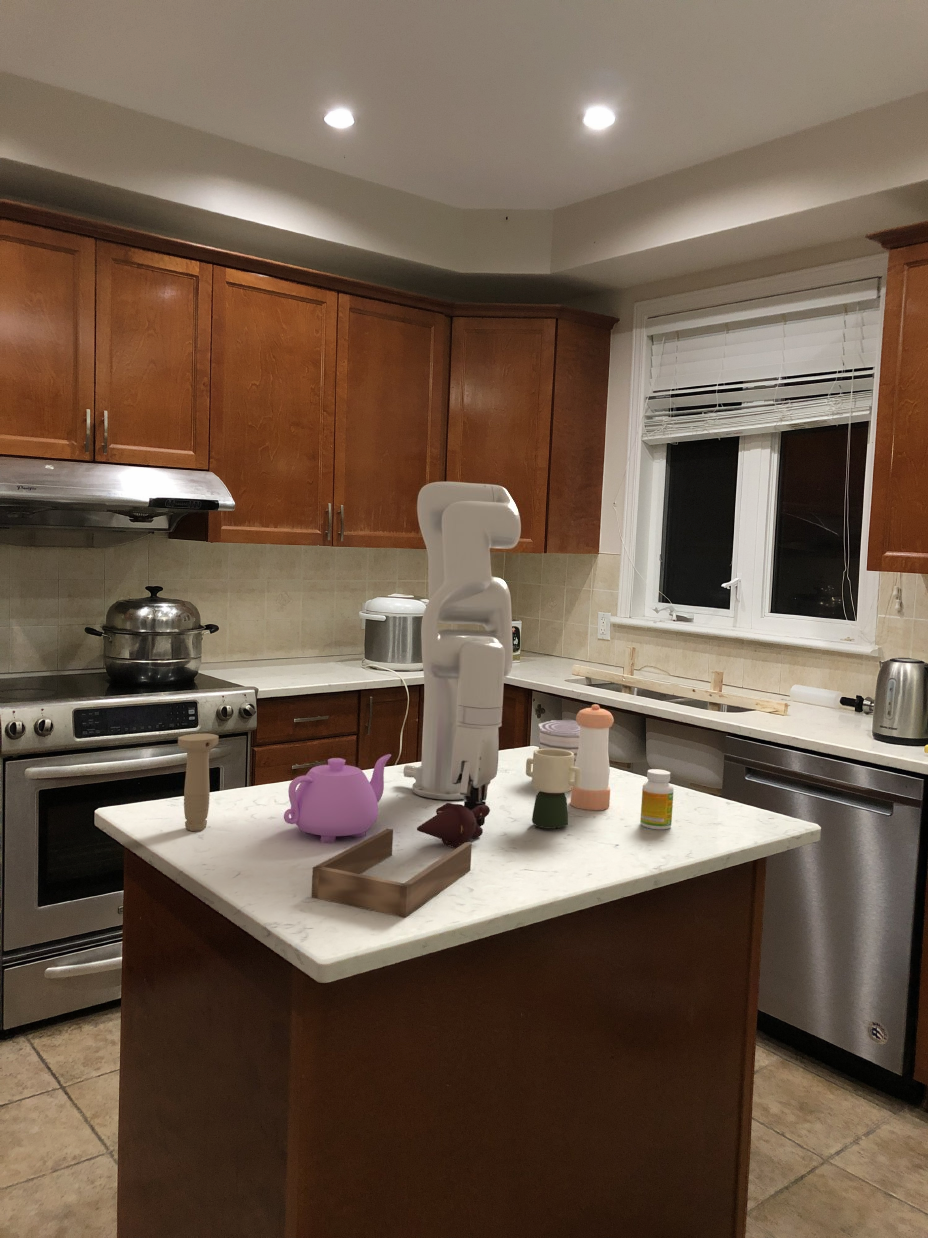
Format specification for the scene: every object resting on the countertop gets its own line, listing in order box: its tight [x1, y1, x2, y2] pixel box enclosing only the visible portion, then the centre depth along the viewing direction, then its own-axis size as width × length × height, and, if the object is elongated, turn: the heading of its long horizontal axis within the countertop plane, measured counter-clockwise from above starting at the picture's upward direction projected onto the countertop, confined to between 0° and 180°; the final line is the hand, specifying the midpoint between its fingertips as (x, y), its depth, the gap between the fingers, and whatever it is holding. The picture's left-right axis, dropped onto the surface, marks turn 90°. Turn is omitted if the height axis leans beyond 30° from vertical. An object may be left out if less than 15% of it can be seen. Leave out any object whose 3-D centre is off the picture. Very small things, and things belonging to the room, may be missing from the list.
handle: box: [177, 732, 220, 832], centre depth 154 cm, size 5×6×15 cm
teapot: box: [283, 753, 392, 844], centre depth 156 cm, size 20×14×12 cm
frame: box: [311, 827, 473, 918], centre depth 134 cm, size 14×21×4 cm, turn 157°
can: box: [538, 719, 580, 766], centre depth 198 cm, size 11×11×12 cm
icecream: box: [416, 802, 491, 849], centre depth 152 cm, size 7×7×15 cm
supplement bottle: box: [639, 768, 674, 830], centre depth 169 cm, size 5×5×10 cm
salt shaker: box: [570, 703, 615, 811], centre depth 180 cm, size 7×7×19 cm
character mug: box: [525, 748, 581, 829], centre depth 165 cm, size 11×7×13 cm, turn 52°
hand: (473, 824), depth 159 cm, fingers closed
